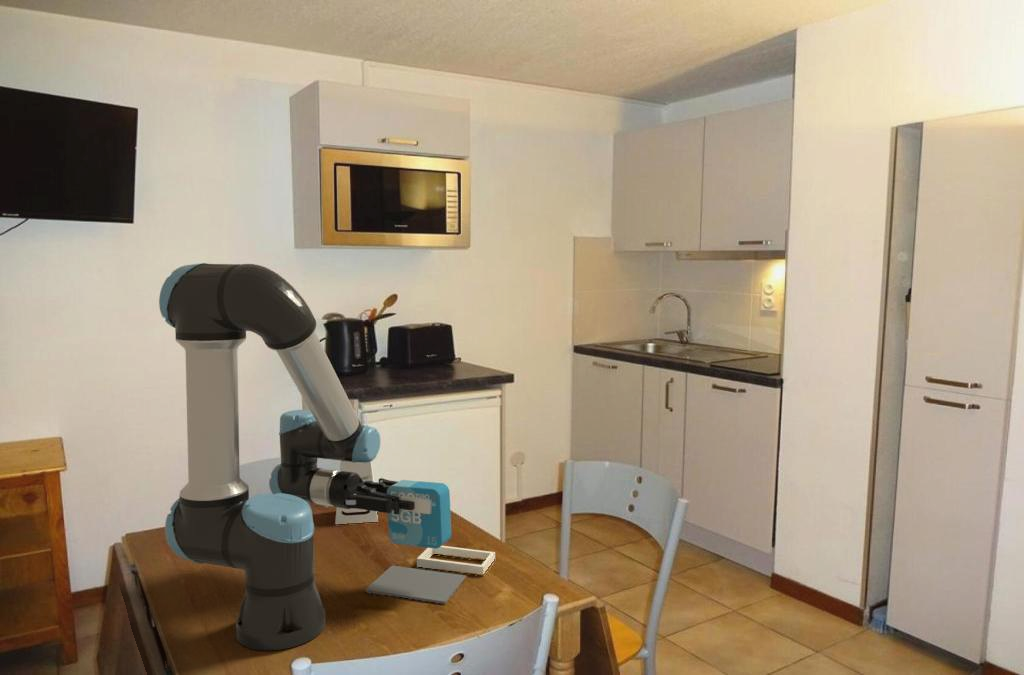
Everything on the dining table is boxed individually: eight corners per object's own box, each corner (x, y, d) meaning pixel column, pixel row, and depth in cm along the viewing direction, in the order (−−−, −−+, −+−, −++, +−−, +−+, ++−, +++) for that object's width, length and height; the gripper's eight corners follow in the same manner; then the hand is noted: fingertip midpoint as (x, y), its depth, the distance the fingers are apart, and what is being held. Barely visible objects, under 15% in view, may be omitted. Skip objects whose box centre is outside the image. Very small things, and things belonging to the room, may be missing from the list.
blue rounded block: (388, 543, 143) (385, 485, 142) (400, 535, 147) (397, 479, 146) (441, 549, 138) (439, 489, 137) (452, 541, 143) (449, 483, 142)
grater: (335, 525, 177) (333, 446, 175) (336, 511, 187) (335, 437, 185) (377, 522, 179) (376, 445, 177) (377, 508, 189) (376, 435, 187)
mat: (445, 604, 136) (445, 601, 136) (365, 592, 141) (365, 589, 141) (466, 578, 147) (466, 575, 147) (391, 568, 152) (391, 565, 152)
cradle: (483, 576, 148) (483, 567, 148) (416, 567, 153) (416, 558, 152) (495, 560, 156) (495, 552, 156) (431, 552, 160) (431, 544, 160)
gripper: (361, 493, 157) (456, 507, 149) (311, 519, 141) (415, 536, 133) (360, 460, 157) (456, 472, 148) (311, 483, 140) (414, 497, 132)
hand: (436, 502), depth 141 cm, fingers closed on blue rounded block, 4 cm apart
